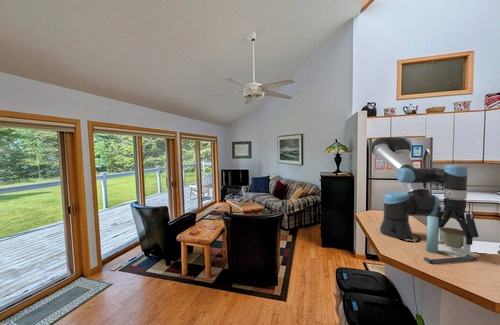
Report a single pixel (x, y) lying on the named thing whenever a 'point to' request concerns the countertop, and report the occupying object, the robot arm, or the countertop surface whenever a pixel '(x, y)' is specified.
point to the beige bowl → (452, 237)
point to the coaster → (454, 251)
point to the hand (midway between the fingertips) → (453, 245)
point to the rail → (450, 259)
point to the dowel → (432, 234)
